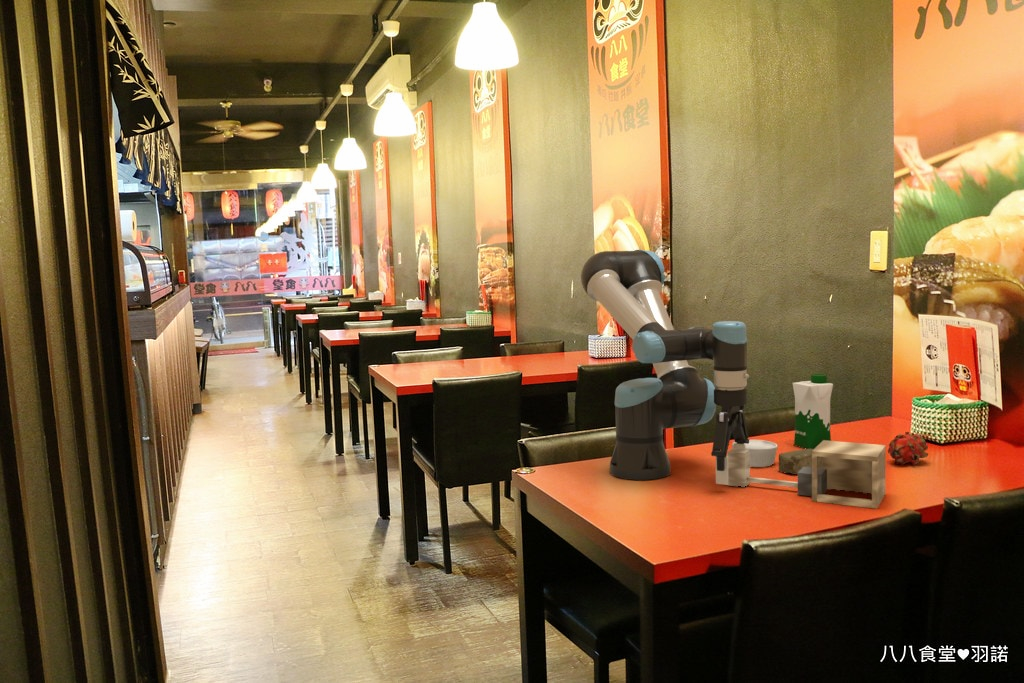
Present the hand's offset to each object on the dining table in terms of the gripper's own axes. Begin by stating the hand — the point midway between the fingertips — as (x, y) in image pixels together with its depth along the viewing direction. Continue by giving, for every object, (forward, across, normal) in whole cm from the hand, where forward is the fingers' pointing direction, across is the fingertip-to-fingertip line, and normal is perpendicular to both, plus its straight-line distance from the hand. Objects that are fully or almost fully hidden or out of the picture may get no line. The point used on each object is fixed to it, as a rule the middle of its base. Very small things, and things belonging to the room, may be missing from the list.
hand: (731, 477), depth 191 cm
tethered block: (+2, 0, -10) cm, 10 cm away
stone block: (+2, +20, -12) cm, 23 cm away
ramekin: (+2, +22, 0) cm, 22 cm away
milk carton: (+2, +47, -8) cm, 48 cm away
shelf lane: (+2, 0, -26) cm, 26 cm away
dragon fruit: (+2, +37, -34) cm, 50 cm away
